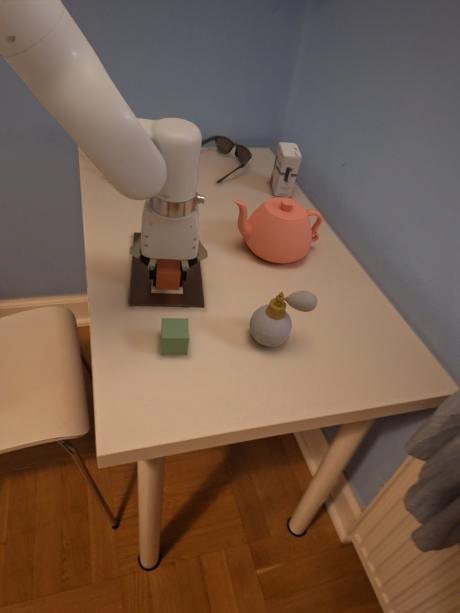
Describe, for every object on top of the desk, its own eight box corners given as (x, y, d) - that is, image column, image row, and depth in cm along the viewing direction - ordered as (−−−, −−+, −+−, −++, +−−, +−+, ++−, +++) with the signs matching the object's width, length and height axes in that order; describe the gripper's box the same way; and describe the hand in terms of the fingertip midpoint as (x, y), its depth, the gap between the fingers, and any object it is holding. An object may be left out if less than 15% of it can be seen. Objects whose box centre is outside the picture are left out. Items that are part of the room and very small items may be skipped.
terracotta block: (156, 289, 78) (156, 272, 74) (156, 274, 81) (156, 257, 77) (179, 290, 78) (180, 273, 75) (178, 275, 81) (179, 258, 78)
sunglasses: (256, 167, 121) (258, 152, 117) (220, 190, 112) (221, 175, 108) (213, 146, 126) (214, 130, 123) (176, 166, 117) (176, 150, 114)
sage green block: (160, 354, 68) (161, 338, 65) (160, 334, 71) (161, 317, 68) (187, 354, 69) (189, 338, 66) (185, 334, 72) (188, 318, 69)
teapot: (230, 269, 86) (240, 220, 78) (218, 226, 97) (226, 178, 88) (324, 269, 92) (344, 223, 83) (304, 228, 102) (319, 183, 93)
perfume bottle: (239, 326, 75) (252, 279, 67) (284, 317, 79) (302, 270, 70) (256, 358, 71) (272, 311, 62) (303, 346, 74) (324, 300, 66)
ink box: (269, 180, 117) (279, 140, 108) (285, 182, 118) (296, 142, 109) (273, 196, 111) (284, 155, 102) (290, 198, 112) (303, 157, 103)
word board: (128, 305, 75) (128, 303, 74) (134, 234, 90) (134, 231, 89) (204, 307, 77) (204, 305, 77) (197, 237, 92) (197, 235, 92)
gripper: (220, 191, 71) (208, 270, 84) (120, 184, 67) (124, 267, 80) (225, 216, 66) (211, 296, 78) (117, 209, 62) (121, 293, 75)
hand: (167, 280), depth 79 cm, fingers closed on terracotta block, 4 cm apart
